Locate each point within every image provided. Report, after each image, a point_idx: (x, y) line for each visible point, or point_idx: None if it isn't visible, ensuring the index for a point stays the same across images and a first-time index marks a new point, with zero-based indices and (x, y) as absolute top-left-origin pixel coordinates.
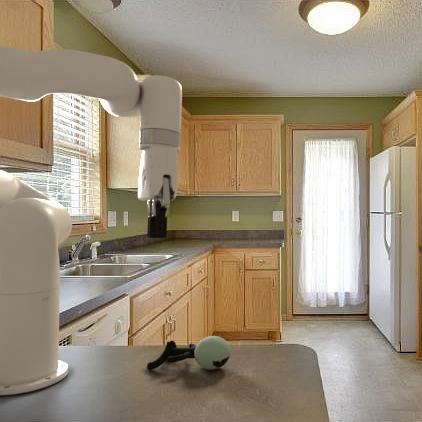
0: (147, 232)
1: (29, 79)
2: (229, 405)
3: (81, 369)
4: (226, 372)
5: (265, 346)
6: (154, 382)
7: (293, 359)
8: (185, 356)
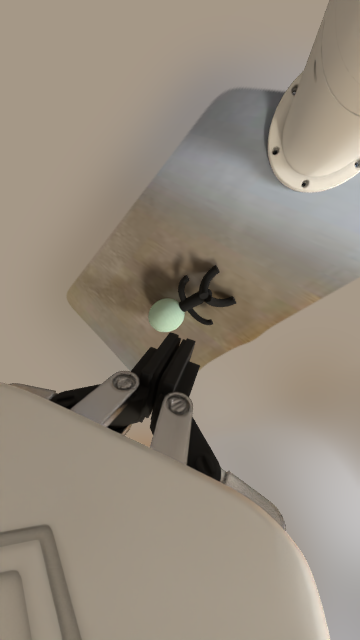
0: (192, 347)
1: None
2: (106, 269)
3: (291, 210)
4: None
5: None
6: (184, 253)
7: None
8: (178, 292)
